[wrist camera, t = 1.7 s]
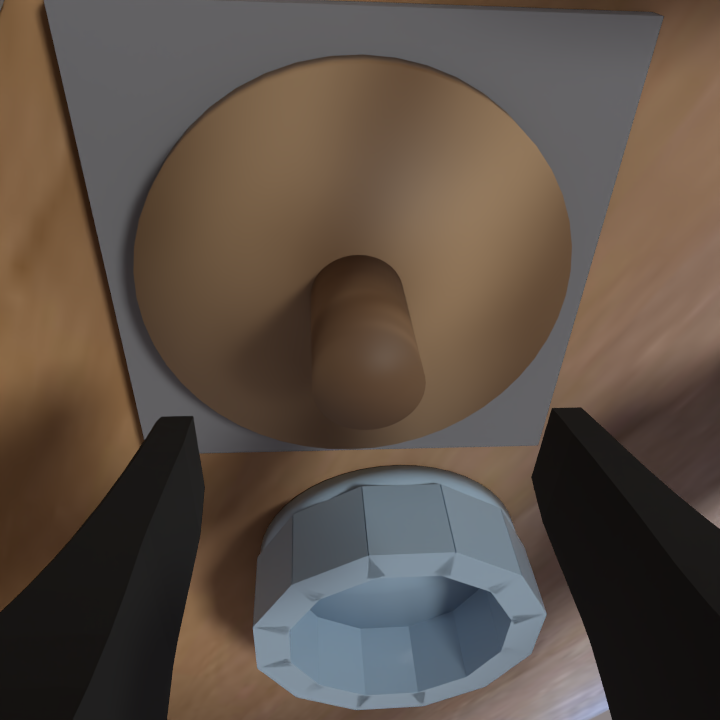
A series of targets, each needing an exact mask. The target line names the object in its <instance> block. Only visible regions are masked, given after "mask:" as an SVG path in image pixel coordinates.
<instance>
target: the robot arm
mask: <svg viewBox="0 0 720 720" xmlns="http://www.w3.org/2000/svg"><path fill="white" fill-rule="evenodd" d="M532 481H533V485H534V490H535V494H536V498H537V502H538V506H539V509H540V513H541V517H542V520H543V524H544V526H545V529H546V531H547V534H548V537H549V539H550V542H551V544H552V547H553V549H554V552H555V554H556V557H557V559H558V562H559V564H560V567H561V569H562V571H563V574H564V576H565V579H566V581H567V584H568V586H569V589H570V591H571V594H572V596H573V599H574V601H575V604H576V606H577V608H578V611H579V613H580V616H581V618H582V621H583V624H584V626H585V629H586V632H587V635H588V638H589V640H590V643H591V646H592V650H593V653H594V657H595V660H596V663H597V667H598V670H599V674H600V677H601V681H602V684H603V687H604V691H605V695H606V698H607V702H608V706H609V710H610V713H611V717H612V720H720V529H719V528H718V527H716V526H715V525H714V524H712V523H711V522H710V521H709V520H707V519H706V518H705V517H704V516H702V515H701V514H700V513H699V512H697V511H696V510H695V509H694V508H692V507H691V506H690V505H689V504H688V503H686V502H685V501H684V500H683V499H681V498H680V497H679V496H678V495H677V494H675V493H674V492H673V491H672V490H671V489H670V488H668V487H667V486H666V485H665V484H664V483H663V482H662V481H660V480H659V479H658V478H657V477H656V476H655V475H654V474H652V473H651V472H650V471H649V470H648V469H647V468H646V467H645V466H644V465H642V464H641V463H640V462H639V461H638V460H637V459H636V458H635V457H634V456H633V455H632V454H631V453H629V452H628V451H627V450H626V449H625V448H624V447H623V446H622V445H621V444H620V443H619V442H618V441H617V440H616V439H614V438H613V437H612V436H611V435H610V434H609V433H608V432H607V431H606V430H605V429H604V428H603V427H602V426H601V425H600V424H599V423H597V422H596V421H595V420H594V419H593V418H592V417H591V416H590V415H589V414H588V413H587V412H585V411H584V410H583V409H582V408H552V410H551V413H550V417H549V420H548V424H547V427H546V430H545V434H544V437H543V440H542V444H541V447H540V450H539V454H538V457H537V461H536V464H535V467H534V471H533V474H532ZM204 490H205V486H204V480H203V474H202V467H201V461H200V455H199V448H198V442H197V436H196V430H195V423H194V417H193V416H165V417H160V418H159V419H158V420H157V421H156V423H155V424H154V426H153V427H152V429H151V431H150V432H149V434H148V436H147V437H146V439H145V440H144V442H143V443H142V445H141V446H140V448H139V450H138V451H137V453H136V454H135V456H134V457H133V458H132V460H131V461H130V463H129V464H128V466H127V467H126V469H125V470H124V472H123V473H122V474H121V476H120V477H119V478H118V480H117V481H116V482H115V484H114V485H113V487H112V488H111V489H110V491H109V492H108V493H107V495H106V496H105V497H104V499H103V500H102V501H101V503H100V504H99V505H98V507H97V508H96V509H95V510H94V512H93V513H92V514H91V515H90V516H89V518H88V519H87V520H86V521H85V523H84V524H83V525H82V526H81V527H80V529H79V530H78V531H77V532H76V534H75V535H74V536H73V537H72V538H71V540H70V541H69V542H68V543H67V544H66V545H65V546H64V548H63V549H62V550H61V551H60V552H59V553H58V554H57V555H56V557H55V558H54V559H53V560H52V561H51V562H50V563H49V564H48V565H47V566H46V567H45V568H44V569H43V570H42V572H41V573H40V574H39V575H38V576H37V577H36V578H35V579H34V580H33V581H32V582H31V583H30V584H29V585H28V586H27V587H26V588H25V589H24V590H23V591H22V592H21V593H20V594H19V595H18V596H17V597H16V598H15V599H14V600H13V601H12V602H11V603H9V604H8V605H7V606H6V607H5V608H4V609H3V610H2V611H1V612H0V720H167V714H168V705H169V697H170V688H171V680H172V671H173V664H174V658H175V652H176V647H177V641H178V637H179V632H180V627H181V623H182V618H183V613H184V609H185V604H186V600H187V595H188V590H189V586H190V581H191V577H192V572H193V567H194V562H195V558H196V553H197V548H198V543H199V539H200V532H201V522H202V512H203V501H204Z"/></svg>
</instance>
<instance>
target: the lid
mask: <svg viewBox="0 0 720 720" xmlns="http://www.w3.org/2000/svg"><path fill="white" fill-rule="evenodd" d="M571 256H572V241H571V231H570V221H569V217H568V213H567V209H566V205H565V201H564V197H563V194H562V192H561V190H560V187H559V185H558V183H557V180H556V178H555V176H554V174H553V171H552V169H551V168H550V166H549V165H548V163H547V162H546V160H545V158H544V157H543V155H542V154H541V152H540V151H539V149H538V147H537V146H536V145H535V144H534V143H533V141H532V140H531V139H530V138H529V137H528V136H527V135H526V133H525V132H524V131H523V130H522V129H521V128H520V127H519V126H518V124H517V123H516V122H515V121H514V120H513V119H512V118H511V117H510V116H509V114H508V113H507V112H506V111H505V110H503V109H502V108H501V107H500V106H499V105H497V104H496V103H495V102H494V101H492V100H491V99H490V98H489V97H488V96H486V95H485V94H484V93H483V92H481V91H479V90H477V89H476V88H474V87H472V86H471V85H469V84H467V83H466V82H464V81H462V80H461V79H459V78H457V77H455V76H453V75H450V74H448V73H445V72H443V71H440V70H438V69H435V68H433V67H430V66H428V65H424V64H420V63H416V62H412V61H408V60H404V59H400V58H395V57H385V56H374V55H364V54H361V55H340V56H327V57H322V58H316V59H311V60H306V61H301V62H296V63H293V64H290V65H287V66H284V67H281V68H279V69H276V70H273V71H270V72H267V73H264V74H262V75H260V76H259V77H257V78H255V79H253V80H251V81H249V82H247V83H245V84H243V85H241V86H239V87H237V88H235V89H234V90H233V91H231V92H230V93H228V94H227V95H226V96H224V97H223V98H222V99H220V100H219V101H217V102H216V103H215V104H213V105H212V106H210V107H209V108H208V109H207V110H206V111H205V112H204V113H203V114H202V115H201V116H200V117H199V118H198V119H197V120H196V121H195V122H194V123H193V124H192V125H191V126H190V127H189V128H188V129H187V130H186V131H185V133H184V134H183V135H182V137H181V138H180V139H179V141H178V142H177V143H176V144H175V146H174V147H173V148H172V150H171V151H170V153H169V154H168V156H167V158H166V160H165V162H164V164H163V165H162V167H161V169H160V171H159V173H158V175H157V177H156V178H155V181H154V183H153V185H152V187H151V189H150V191H149V193H148V196H147V198H146V201H145V204H144V207H143V210H142V213H141V215H140V218H139V222H138V228H137V233H136V239H135V244H134V268H133V274H134V281H135V289H136V297H137V301H138V305H139V308H140V312H141V315H142V318H143V322H144V324H145V326H146V329H147V331H148V333H149V335H150V338H151V340H152V342H153V344H154V346H155V347H156V349H157V351H158V352H159V354H160V355H161V357H162V359H163V360H164V362H165V363H166V365H167V366H168V367H169V368H170V370H171V371H172V372H173V373H174V374H175V376H176V377H177V378H178V379H179V380H180V382H181V383H182V384H183V385H184V386H185V387H186V388H187V389H189V390H190V391H191V392H192V393H193V394H194V395H195V396H196V397H197V398H198V399H199V400H201V401H202V402H203V403H205V404H206V405H207V406H209V407H210V408H212V409H213V410H214V411H216V412H217V413H218V414H220V415H222V416H224V417H225V418H227V419H229V420H231V421H232V422H234V423H236V424H238V425H240V426H242V427H244V428H247V429H249V430H251V431H253V432H256V433H258V434H261V435H264V436H267V437H270V438H273V439H276V440H279V441H283V442H287V443H292V444H297V445H301V446H307V447H316V448H324V449H363V448H376V447H382V446H388V445H394V444H399V443H402V442H406V441H410V440H414V439H418V438H421V437H424V436H426V435H429V434H432V433H435V432H437V431H440V430H443V429H445V428H447V427H449V426H451V425H453V424H455V423H457V422H459V421H461V420H463V419H465V418H467V417H468V416H470V415H471V414H473V413H475V412H476V411H478V410H480V409H481V408H483V407H484V406H486V405H487V404H488V403H490V402H491V401H492V400H494V399H495V398H496V397H497V396H499V395H500V394H501V393H503V392H504V391H505V390H506V389H507V388H508V387H509V386H510V385H511V384H512V383H513V382H514V381H515V380H516V379H517V378H518V377H519V376H520V375H521V374H522V373H523V372H524V370H525V369H526V368H527V367H528V366H529V365H530V363H531V362H532V361H533V360H534V359H535V357H536V356H537V354H538V353H539V351H540V350H541V348H542V347H543V345H544V344H545V342H546V341H547V339H548V337H549V335H550V333H551V331H552V329H553V327H554V325H555V323H556V321H557V319H558V317H559V314H560V311H561V308H562V305H563V302H564V299H565V296H566V292H567V287H568V282H569V277H570V272H571Z"/></svg>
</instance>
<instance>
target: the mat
mask: <svg viewBox="0 0 720 720" xmlns="http://www.w3.org/2000/svg"><path fill="white" fill-rule="evenodd" d="M44 4H45V8H46V12H47V17H48V21H49V25H50V30H51V34H52V39H53V43H54V47H55V52H56V56H57V60H58V65H59V69H60V74H61V78H62V82H63V87H64V91H65V95H66V100H67V104H68V108H69V113H70V117H71V122H72V126H73V130H74V135H75V139H76V143H77V148H78V152H79V157H80V161H81V165H82V170H83V174H84V178H85V183H86V187H87V192H88V196H89V200H90V205H91V209H92V213H93V218H94V222H95V226H96V231H97V235H98V240H99V244H100V248H101V253H102V257H103V261H104V266H105V270H106V275H107V279H108V283H109V288H110V292H111V296H112V301H113V305H114V309H115V314H116V318H117V323H118V327H119V331H120V336H121V340H122V344H123V349H124V353H125V358H126V362H127V366H128V371H129V375H130V379H131V384H132V388H133V393H134V397H135V401H136V406H137V410H138V414H139V419H140V423H141V427H142V432H143V436H144V440H145V439H146V437H147V436H148V434H149V432H150V431H151V429H152V427H153V426H154V424H155V423H156V421H157V420H158V419H159V418H160V417H165V416H193V417H194V423H195V430H196V436H197V442H198V448H199V453H235V452H278V451H320V450H363V449H405V448H448V447H490V446H533V445H538V444H539V440H540V437H541V433H542V430H543V427H544V423H545V420H546V416H547V413H548V409H549V406H550V403H551V399H552V396H553V392H554V389H555V386H556V382H557V379H558V375H559V372H560V369H561V365H562V362H563V358H564V355H565V352H566V348H567V345H568V341H569V338H570V334H571V331H572V328H573V324H574V321H575V317H576V314H577V311H578V307H579V304H580V300H581V297H582V294H583V290H584V287H585V283H586V280H587V277H588V273H589V270H590V266H591V263H592V260H593V256H594V253H595V249H596V246H597V242H598V239H599V236H600V232H601V229H602V225H603V222H604V219H605V215H606V212H607V208H608V205H609V202H610V198H611V195H612V191H613V188H614V185H615V181H616V178H617V174H618V171H619V168H620V164H621V161H622V157H623V154H624V150H625V147H626V144H627V140H628V137H629V133H630V130H631V127H632V123H633V120H634V116H635V113H636V110H637V106H638V103H639V99H640V96H641V93H642V89H643V86H644V82H645V79H646V75H647V72H648V69H649V65H650V62H651V58H652V55H653V52H654V48H655V45H656V41H657V38H658V35H659V31H660V28H661V24H662V21H663V18H664V16H662V15H659V14H657V13H654V12H638V11H610V10H582V9H554V8H525V7H497V6H469V5H441V4H413V3H385V2H357V1H329V0H44ZM361 54H364V55H374V56H385V57H395V58H400V59H404V60H408V61H412V62H416V63H420V64H424V65H428V66H430V67H433V68H435V69H438V70H440V71H443V72H445V73H448V74H450V75H453V76H455V77H457V78H459V79H461V80H462V81H464V82H466V83H467V84H469V85H471V86H472V87H474V88H476V89H477V90H479V91H481V92H483V93H484V94H485V95H486V96H488V97H489V98H490V99H491V100H492V101H494V102H495V103H496V104H497V105H499V106H500V107H501V108H502V109H503V110H505V111H506V112H507V113H508V114H509V116H510V117H511V118H512V119H513V120H514V121H515V122H516V123H517V124H518V126H519V127H520V128H521V129H522V130H523V131H524V132H525V133H526V135H527V136H528V137H529V138H530V139H531V140H532V141H533V143H534V144H535V145H536V146H537V147H538V149H539V151H540V152H541V154H542V155H543V157H544V158H545V160H546V162H547V163H548V165H549V166H550V168H551V169H552V171H553V174H554V176H555V178H556V180H557V183H558V185H559V187H560V190H561V192H562V194H563V197H564V201H565V205H566V209H567V213H568V217H569V221H570V231H571V241H572V256H571V272H570V277H569V282H568V287H567V292H566V296H565V299H564V302H563V305H562V308H561V311H560V314H559V317H558V319H557V321H556V323H555V325H554V327H553V329H552V331H551V333H550V335H549V337H548V339H547V341H546V342H545V344H544V345H543V347H542V348H541V350H540V351H539V353H538V354H537V356H536V357H535V359H534V360H533V361H532V362H531V363H530V365H529V366H528V367H527V368H526V369H525V370H524V372H523V373H522V374H521V375H520V376H519V377H518V378H517V379H516V380H515V381H514V382H513V383H512V384H511V385H510V386H509V387H508V388H507V389H506V390H505V391H504V392H503V393H501V394H500V395H499V396H497V397H496V398H495V399H494V400H492V401H491V402H490V403H488V404H487V405H486V406H484V407H483V408H481V409H480V410H478V411H476V412H475V413H473V414H471V415H470V416H468V417H467V418H465V419H463V420H461V421H459V422H457V423H455V424H453V425H451V426H449V427H447V428H445V429H443V430H440V431H437V432H435V433H432V434H429V435H426V436H424V437H421V438H418V439H414V440H410V441H406V442H402V443H399V444H394V445H388V446H382V447H376V448H363V449H324V448H316V447H307V446H301V445H297V444H292V443H287V442H283V441H279V440H276V439H273V438H270V437H267V436H264V435H261V434H258V433H256V432H253V431H251V430H249V429H247V428H244V427H242V426H240V425H238V424H236V423H234V422H232V421H231V420H229V419H227V418H225V417H224V416H222V415H220V414H218V413H217V412H216V411H214V410H213V409H212V408H210V407H209V406H207V405H206V404H205V403H203V402H202V401H201V400H199V399H198V398H197V397H196V396H195V395H194V394H193V393H192V392H191V391H190V390H189V389H187V388H186V387H185V386H184V385H183V384H182V383H181V382H180V380H179V379H178V378H177V377H176V376H175V374H174V373H173V372H172V371H171V370H170V368H169V367H168V366H167V365H166V363H165V362H164V360H163V359H162V357H161V355H160V354H159V352H158V351H157V349H156V347H155V346H154V344H153V342H152V340H151V338H150V335H149V333H148V331H147V329H146V326H145V324H144V322H143V318H142V315H141V312H140V308H139V305H138V301H137V297H136V289H135V281H134V274H133V268H134V244H135V239H136V233H137V228H138V222H139V218H140V215H141V213H142V210H143V207H144V204H145V201H146V198H147V196H148V193H149V191H150V189H151V187H152V185H153V183H154V181H155V178H156V177H157V175H158V173H159V171H160V169H161V167H162V165H163V164H164V162H165V160H166V158H167V156H168V154H169V153H170V151H171V150H172V148H173V147H174V146H175V144H176V143H177V142H178V141H179V139H180V138H181V137H182V135H183V134H184V133H185V131H186V130H187V129H188V128H189V127H190V126H191V125H192V124H193V123H194V122H195V121H196V120H197V119H198V118H199V117H200V116H201V115H202V114H203V113H204V112H205V111H206V110H207V109H208V108H209V107H210V106H212V105H213V104H215V103H216V102H217V101H219V100H220V99H222V98H223V97H224V96H226V95H227V94H228V93H230V92H231V91H233V90H234V89H235V88H237V87H239V86H241V85H243V84H245V83H247V82H249V81H251V80H253V79H255V78H257V77H259V76H260V75H262V74H264V73H267V72H270V71H273V70H276V69H279V68H281V67H284V66H287V65H290V64H293V63H296V62H301V61H306V60H311V59H316V58H322V57H327V56H340V55H361Z"/></svg>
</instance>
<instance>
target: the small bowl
mask: <svg viewBox="0 0 720 720" xmlns="http://www.w3.org/2000/svg"><path fill="white" fill-rule="evenodd" d="M546 615H547V613H546V610H545V607H544V604H543V601H542V598H541V595H540V592H539V589H538V586H537V583H536V580H535V577H534V574H533V571H532V568H531V565H530V562H529V559H528V556H527V553H526V550H525V547H524V545H523V544H522V542H521V541H520V539H519V537H518V536H517V534H516V532H515V528H514V525H513V522H512V519H511V517H510V515H509V513H508V511H507V509H506V507H505V506H504V504H503V503H502V502H501V500H500V499H499V498H498V497H497V496H496V495H494V494H493V493H492V492H491V491H490V490H489V489H487V488H486V487H484V486H483V485H481V484H480V483H478V482H476V481H474V480H472V479H470V478H468V477H465V476H463V475H460V474H457V473H454V472H451V471H446V470H442V469H437V468H432V467H423V466H406V465H396V466H382V467H374V468H368V469H362V470H358V471H354V472H350V473H346V474H342V475H340V476H337V477H334V478H331V479H329V480H326V481H324V482H322V483H320V484H318V485H315V486H313V487H311V488H309V489H308V490H306V491H305V492H303V493H301V494H300V495H298V496H297V497H295V498H294V499H293V500H292V501H290V502H289V503H288V504H287V505H285V506H284V507H283V509H282V510H281V511H280V512H279V513H278V514H277V515H276V516H275V517H274V519H273V520H272V522H271V523H270V525H269V526H268V528H267V530H266V533H265V535H264V537H263V541H262V545H261V553H260V555H259V556H258V558H257V572H256V587H255V602H254V617H253V634H254V643H255V652H256V661H257V668H258V669H259V670H260V671H262V672H263V673H264V674H266V675H267V676H268V677H270V678H271V679H273V680H274V681H275V682H277V683H278V684H279V685H281V686H282V687H283V688H285V689H286V690H287V691H289V692H290V693H291V694H293V695H294V696H295V697H298V698H302V699H307V700H312V701H316V702H321V703H325V704H330V705H335V706H339V707H344V708H349V709H353V710H356V709H357V710H367V709H384V708H401V707H418V706H425V705H429V704H432V703H435V702H438V701H441V700H445V699H448V698H451V697H454V696H457V695H461V694H464V693H467V692H470V691H473V690H476V689H480V688H483V687H485V686H487V685H488V684H490V683H491V682H493V681H494V680H495V679H497V678H498V677H500V676H501V675H502V674H504V673H505V672H507V671H508V670H509V669H511V668H512V667H514V666H515V665H516V664H518V663H519V662H521V661H522V660H523V659H525V658H526V657H528V656H529V655H530V654H531V653H532V650H533V648H534V645H535V643H536V640H537V638H538V635H539V633H540V630H541V627H542V625H543V622H544V620H545V617H546Z"/></svg>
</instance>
